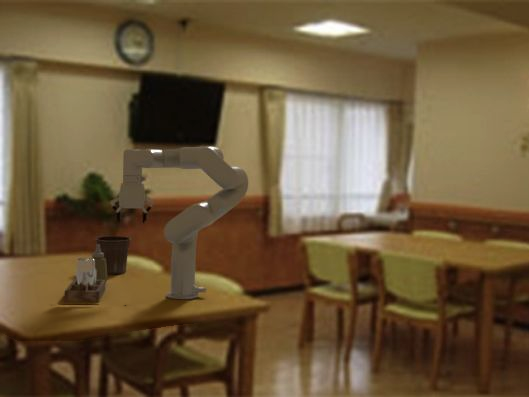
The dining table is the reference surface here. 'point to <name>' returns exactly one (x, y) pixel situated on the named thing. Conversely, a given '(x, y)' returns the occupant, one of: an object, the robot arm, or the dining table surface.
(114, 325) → the dining table surface
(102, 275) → the squeeze bottle
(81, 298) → the carrier
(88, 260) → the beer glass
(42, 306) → the dining table surface
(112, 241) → the plant pot
